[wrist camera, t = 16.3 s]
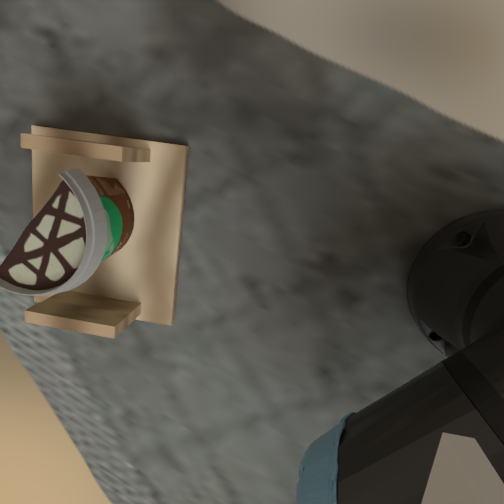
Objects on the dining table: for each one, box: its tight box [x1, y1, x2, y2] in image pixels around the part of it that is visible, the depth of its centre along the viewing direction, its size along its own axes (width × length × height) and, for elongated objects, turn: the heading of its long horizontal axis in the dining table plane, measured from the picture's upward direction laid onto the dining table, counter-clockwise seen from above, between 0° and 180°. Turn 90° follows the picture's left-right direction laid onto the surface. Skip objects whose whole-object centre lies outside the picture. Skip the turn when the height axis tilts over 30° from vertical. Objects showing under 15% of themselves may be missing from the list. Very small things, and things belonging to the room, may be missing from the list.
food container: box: [0, 168, 134, 296], centre depth 34 cm, size 12×6×10 cm, turn 137°
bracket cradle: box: [21, 125, 189, 338], centre depth 36 cm, size 16×19×7 cm
